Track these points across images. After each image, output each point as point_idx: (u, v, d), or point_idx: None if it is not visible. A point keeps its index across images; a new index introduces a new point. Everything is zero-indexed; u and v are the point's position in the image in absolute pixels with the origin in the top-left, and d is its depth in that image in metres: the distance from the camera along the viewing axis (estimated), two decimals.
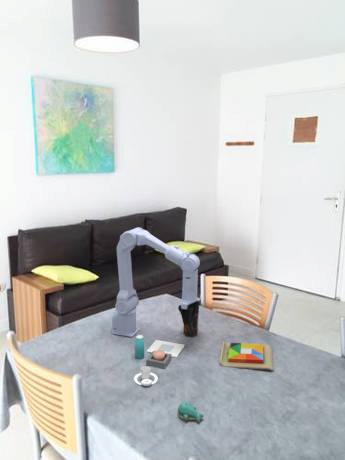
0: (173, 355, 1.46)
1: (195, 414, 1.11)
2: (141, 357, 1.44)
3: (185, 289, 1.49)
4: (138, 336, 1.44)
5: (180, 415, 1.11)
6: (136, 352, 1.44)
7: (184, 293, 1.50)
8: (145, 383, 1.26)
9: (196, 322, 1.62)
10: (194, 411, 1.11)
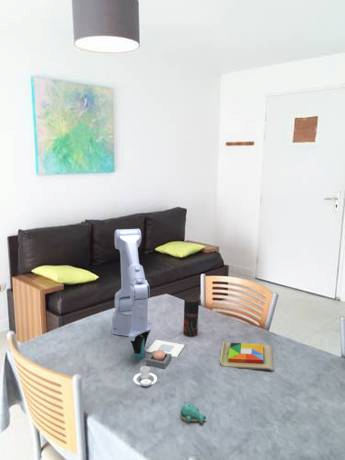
0: (173, 355, 1.46)
1: (198, 415, 1.10)
2: (141, 357, 1.44)
3: (134, 319, 1.40)
4: None
5: (183, 416, 1.11)
6: None
7: (133, 323, 1.41)
8: (144, 383, 1.26)
9: (196, 322, 1.62)
10: (197, 412, 1.11)
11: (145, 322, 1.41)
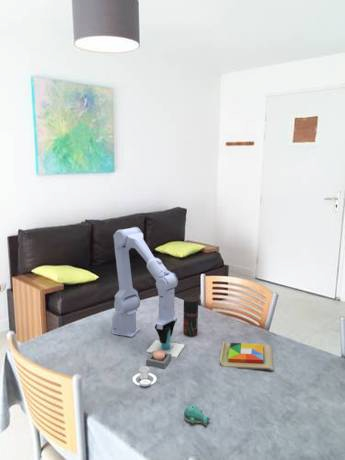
0: (173, 355, 1.46)
1: (202, 417, 1.10)
2: (168, 348, 1.50)
3: (161, 308, 1.46)
4: None
5: (186, 418, 1.10)
6: None
7: (160, 312, 1.47)
8: (144, 383, 1.26)
9: (195, 322, 1.62)
10: (201, 414, 1.10)
11: (172, 312, 1.47)
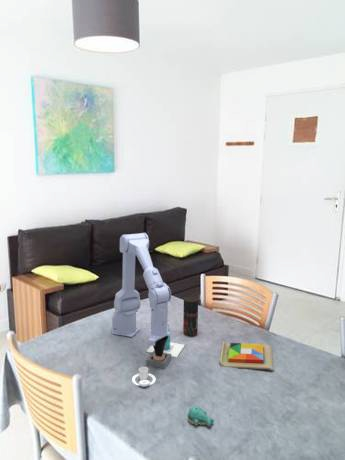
0: (173, 355, 1.46)
1: (205, 419, 1.09)
2: (168, 348, 1.50)
3: (154, 323, 1.37)
4: None
5: (190, 419, 1.09)
6: None
7: (153, 327, 1.37)
8: (143, 384, 1.26)
9: (195, 322, 1.62)
10: (204, 416, 1.09)
11: (165, 326, 1.38)
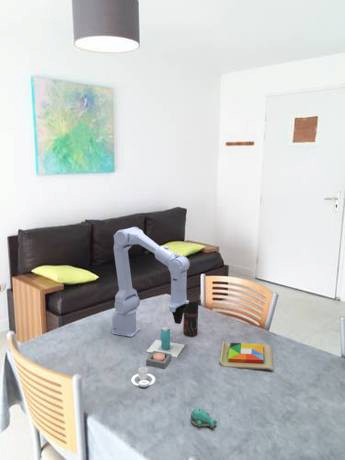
0: (173, 355, 1.46)
1: (209, 420, 1.08)
2: (167, 348, 1.50)
3: (173, 291, 1.46)
4: (164, 327, 1.50)
5: (193, 421, 1.09)
6: (162, 343, 1.50)
7: (172, 295, 1.46)
8: (142, 384, 1.26)
9: (195, 322, 1.62)
10: (207, 417, 1.09)
11: (184, 295, 1.46)
